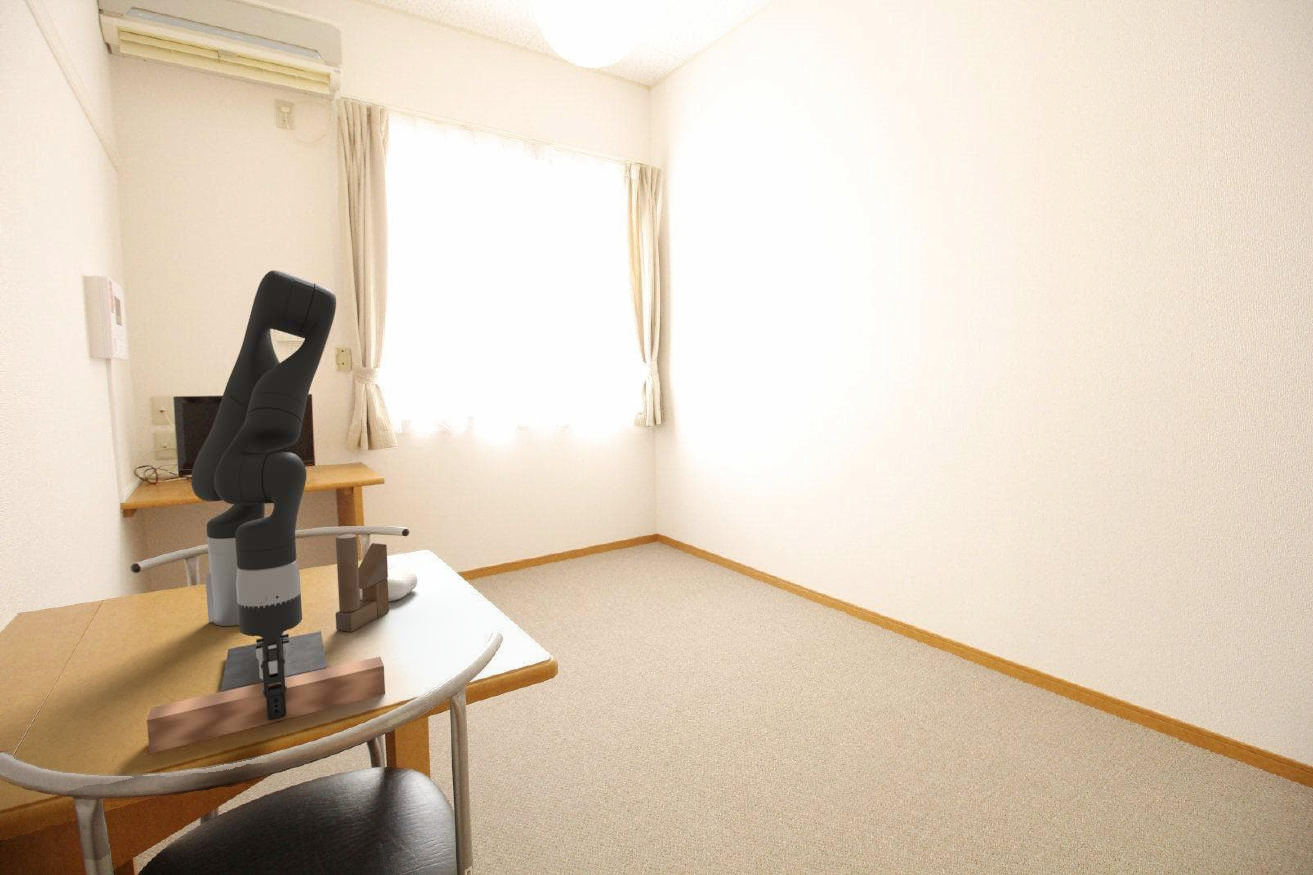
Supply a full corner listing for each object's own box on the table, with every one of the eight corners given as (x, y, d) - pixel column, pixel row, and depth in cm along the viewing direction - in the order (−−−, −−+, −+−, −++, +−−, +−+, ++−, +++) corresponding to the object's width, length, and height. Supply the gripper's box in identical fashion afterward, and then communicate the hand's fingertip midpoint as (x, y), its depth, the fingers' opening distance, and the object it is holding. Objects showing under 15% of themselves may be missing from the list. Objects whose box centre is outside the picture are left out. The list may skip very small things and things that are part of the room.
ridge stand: (327, 675, 99) (324, 618, 98) (221, 699, 92) (217, 638, 91) (321, 639, 113) (318, 588, 112) (228, 657, 106) (224, 603, 105)
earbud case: (401, 606, 130) (400, 581, 129) (341, 604, 131) (340, 579, 130) (423, 589, 140) (422, 566, 139) (367, 587, 141) (366, 564, 140)
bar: (149, 753, 79) (146, 720, 79) (154, 739, 82) (151, 707, 82) (385, 693, 94) (383, 665, 94) (381, 683, 97) (380, 656, 97)
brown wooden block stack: (390, 611, 126) (386, 525, 124) (351, 633, 116) (347, 539, 114) (374, 609, 127) (370, 524, 125) (335, 631, 117) (330, 538, 115)
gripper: (302, 605, 82) (309, 727, 84) (298, 575, 94) (305, 682, 96) (234, 616, 78) (243, 744, 80) (239, 584, 90) (247, 696, 92)
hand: (277, 710), depth 88 cm, fingers closed on bar, 3 cm apart
